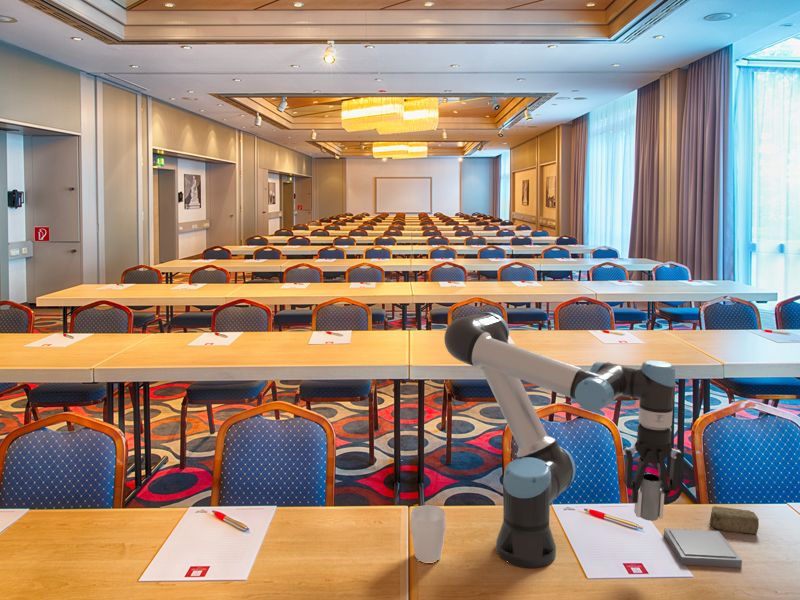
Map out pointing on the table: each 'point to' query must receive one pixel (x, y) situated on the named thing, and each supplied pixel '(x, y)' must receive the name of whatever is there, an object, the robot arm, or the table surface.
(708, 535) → the kitchen scale
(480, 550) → the table surface
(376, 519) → the table surface
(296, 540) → the table surface
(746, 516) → the stone block
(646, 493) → the grey tube
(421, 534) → the cup
